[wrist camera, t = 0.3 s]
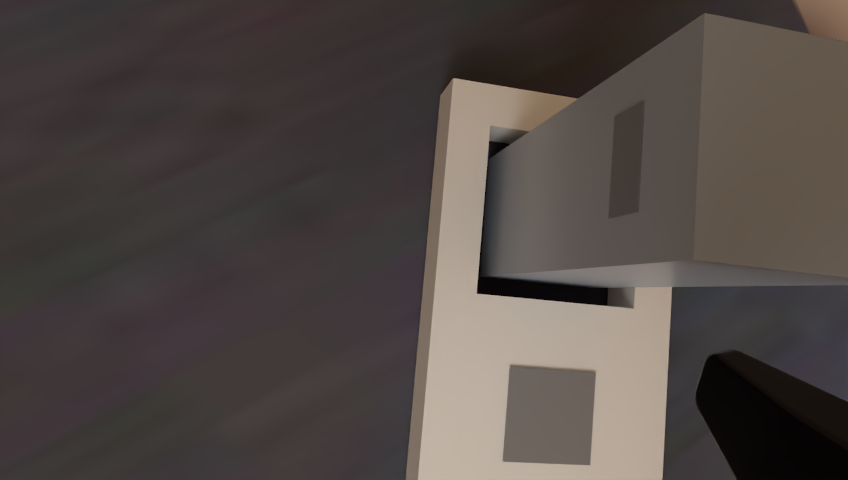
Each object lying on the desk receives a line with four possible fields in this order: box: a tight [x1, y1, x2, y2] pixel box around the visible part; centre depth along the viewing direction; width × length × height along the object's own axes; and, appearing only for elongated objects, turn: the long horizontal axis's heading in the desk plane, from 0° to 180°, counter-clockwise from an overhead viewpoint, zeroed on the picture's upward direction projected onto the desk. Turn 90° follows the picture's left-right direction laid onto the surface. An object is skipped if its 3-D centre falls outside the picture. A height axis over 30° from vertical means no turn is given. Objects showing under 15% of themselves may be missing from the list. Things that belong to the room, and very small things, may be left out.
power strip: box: [406, 78, 672, 480], centre depth 22 cm, size 22×9×3 cm, turn 174°
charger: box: [480, 13, 848, 288], centre depth 18 cm, size 5×5×13 cm
